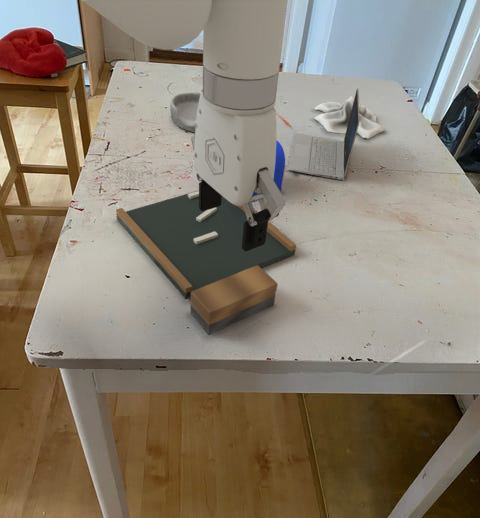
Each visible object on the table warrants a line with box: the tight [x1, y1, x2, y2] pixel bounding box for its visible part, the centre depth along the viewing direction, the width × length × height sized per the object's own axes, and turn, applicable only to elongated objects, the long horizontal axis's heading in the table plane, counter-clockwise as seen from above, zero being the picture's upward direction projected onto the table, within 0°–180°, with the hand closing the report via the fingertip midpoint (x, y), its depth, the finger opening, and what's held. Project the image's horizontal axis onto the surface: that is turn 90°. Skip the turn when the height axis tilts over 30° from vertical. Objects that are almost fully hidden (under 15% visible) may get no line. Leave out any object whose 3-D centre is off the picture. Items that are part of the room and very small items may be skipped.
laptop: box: [287, 88, 360, 181], centre depth 103 cm, size 18×12×13 cm
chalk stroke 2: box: [194, 232, 218, 244], centre depth 81 cm, size 4×1×1 cm, turn 125°
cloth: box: [313, 95, 386, 140], centre depth 122 cm, size 22×19×6 cm
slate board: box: [115, 189, 297, 300], centre depth 83 cm, size 22×24×2 cm
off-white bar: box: [187, 190, 199, 199], centre depth 90 cm, size 4×1×1 cm, turn 125°
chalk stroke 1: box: [196, 207, 217, 222], centre depth 86 cm, size 5×1×1 cm, turn 145°
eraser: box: [190, 265, 278, 336], centre depth 70 cm, size 12×5×4 cm, turn 125°
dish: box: [169, 91, 201, 133], centre depth 114 cm, size 14×14×5 cm
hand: (230, 226), depth 60 cm, fingers open, 9 cm apart
